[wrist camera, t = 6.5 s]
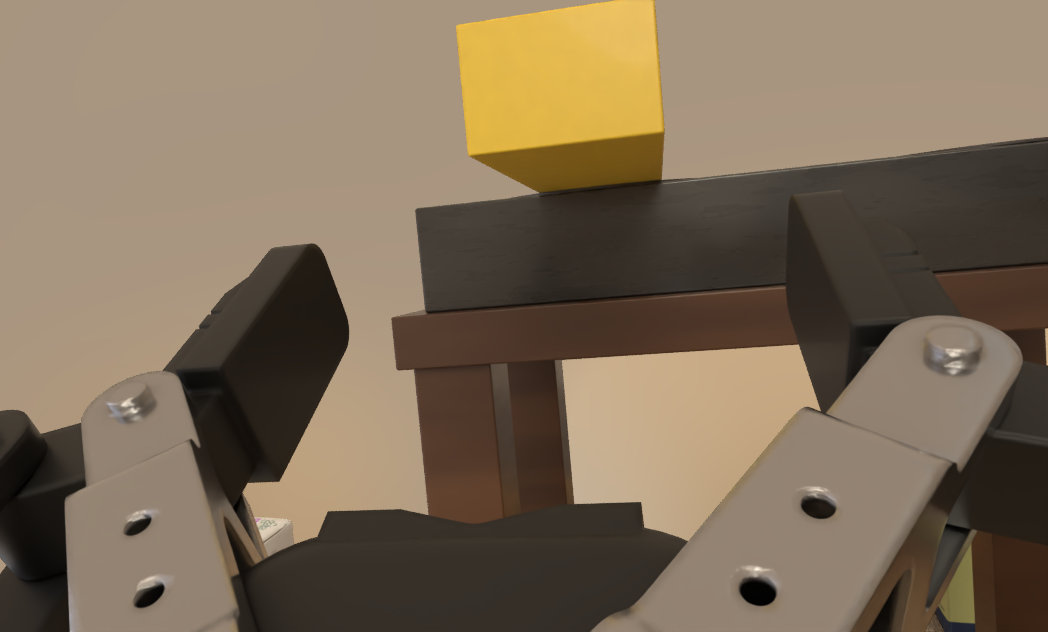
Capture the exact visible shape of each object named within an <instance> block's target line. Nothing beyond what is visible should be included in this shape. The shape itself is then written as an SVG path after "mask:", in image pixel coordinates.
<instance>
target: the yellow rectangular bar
mask: <svg viewBox="0 0 1048 632" xmlns="http://www.w3.org/2000/svg"><path fill="white" fill-rule="evenodd" d="M456 31H457V42H458V54H459V64H460V75H461V86H462V97H463V107H464V117H465V128H466V139H467V149H468V155H469V156H470V157H472V158H474V159H476V160H477V161H479V162H481V163H483V164H485V165H487V166H489V167H491V168H493V169H495V170H497V171H499V172H501V173H503V174H504V175H506V176H508V177H510V178H512V179H514V180H516V181H518V182H520V183H522V184H524V185H525V186H527V187H529V188H531V189H533V190H535V191H537V192H539V193H545V192H552V191H560V190H567V189H575V188H584V187H592V186H601V185H611V184H621V183H632V182H643V181H656V180H661V179H662V165H663V148H664V131H665V129H664V116H663V103H662V89H661V77H660V63H659V50H658V36H657V23H656V10H655V0H614V1H607V2H601V3H594V4H588V5H582V6H575V7H569V8H562V9H556V10H550V11H543V12H537V13H530V14H524V15H517V16H511V17H505V18H498V19H492V20H485V21H479V22H473V23H466V24H460V25H457V26H456Z"/></svg>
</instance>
